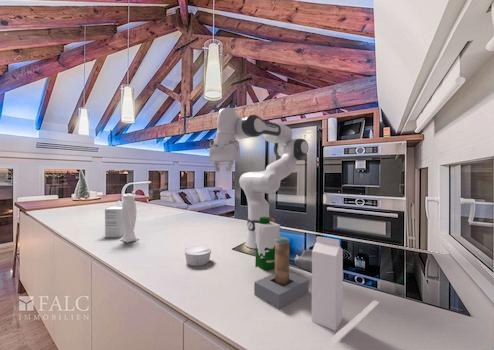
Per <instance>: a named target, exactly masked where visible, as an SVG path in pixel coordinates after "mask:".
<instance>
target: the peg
mask: <svg viewBox="0 0 494 350" xmlns="http://www.w3.org/2000/svg"><path fill="white" fill-rule="evenodd" d="M289 272H290V238H288V237H283V236H280V237H277V238H275V269H274V274H275V283H276V284H278V285H280V286H282V287H283V286H285V285H288V284H289Z"/></svg>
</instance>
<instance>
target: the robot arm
mask: <svg viewBox="0 0 494 350" xmlns="http://www.w3.org/2000/svg"><path fill="white" fill-rule="evenodd" d="M216 129H217V130H216V134H215V137H214V138H213V140H211V141H210V142H209V147H210V148H209V155H208V161H209V162H210V163H213V167H214V172H217V173H218V172H220V171H221V168H220V167H219V165H220V163H227V166H226V172H232V169H233V166H234V164H235V162H239V161H240V159H241V150H240V142H239V141H238V140H242V139H247V138H256V137H260V136H261V135H262V136H263V138H264V140H265V141H266V142H269V143H272V144H274V145H273V153H274V155H275V156H276V157H277V158H279V159H276V160H275V161H273V162H272V163H269V164H268V165H266V168H265V170H261V171H249V172H248V171H247V172H244V173H242V174H241V175H240V177H239V181H238V184H239V186H240V188H241V189H242V190H243V192H244V195H245V196H246V201H247V213H248V215H247V216H248V217H247V219H246V221H247V225H246V226H247V232H246V238H245V239H246V240H245V243H244V246H245V247H247V248H250V249H255V250H256V231H255V223H257V222H260V217H269V218H270V204H269V202H268V201H267V200H266V199H265V197H264V194H271V193H275V192H277V191H279V189H280V187H281V181H282V180H284V179H286V178H287V177H288V176H290V175H291V174H292V173H293V172H294V171H295V169H296V168H297V161H301V160H302V159H303V158H304V157H305V156H306V155H307V154H308V151H309V143H308V141H307V140H305V139H304V138H293V131H292V128H291V127H289V126H287V125H285V124H282V123H277V122H271V121H267V120H264V119H263V118H262V117H260V116H259V115H257V114H251V115H248V116H246V117H245V116H244V117H241V116H240V115H239V114H238V112H237V111H236V108H234V107H232V106H231V107H230V106H229V107H223V108H221V109H219V111H218V115H217V120H216ZM275 221H276V219H275V218H270V222H273V223H276V222H275ZM279 237H281V234H280V231H279Z"/></svg>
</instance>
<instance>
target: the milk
mask: <svg viewBox="0 0 494 350" xmlns="http://www.w3.org/2000/svg"><path fill="white" fill-rule="evenodd" d="M340 245H341V243H340V240H339V239H338V238H337V239H336V238H330V237H326V236H325V237H323V236H318V235H317V236H316V238H315V243H314V246H313V249H311V250H312V272H311V322H312V323H315V324H317V325H319V326H323V327H325V328H327V329H330V330H333V331H335V332H336V331H337V329H338V327H339V325H340V324H341V322H342V320H343V280H344V279H343V273H344V272H343V269H344V268H343V266H344V264H343V263H344V261H343V260H344V259H343V255H344V253H343V251H344V250H343V248H342V247H341V246H340Z"/></svg>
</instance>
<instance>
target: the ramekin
mask: <svg viewBox="0 0 494 350" xmlns="http://www.w3.org/2000/svg"><path fill="white" fill-rule="evenodd" d="M211 253H212V249H211V248H210V247H208V246H204V245H196V246H190V247H188V248H185V250H184V255H185V263H186V264H187V265H188V266H192V267H200V266H201V267H202V266H204V265H206V264H208V263H209V262H210V257H211Z"/></svg>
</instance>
